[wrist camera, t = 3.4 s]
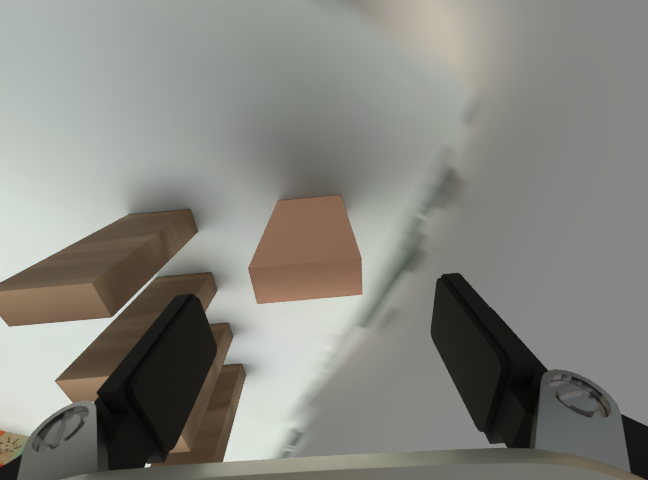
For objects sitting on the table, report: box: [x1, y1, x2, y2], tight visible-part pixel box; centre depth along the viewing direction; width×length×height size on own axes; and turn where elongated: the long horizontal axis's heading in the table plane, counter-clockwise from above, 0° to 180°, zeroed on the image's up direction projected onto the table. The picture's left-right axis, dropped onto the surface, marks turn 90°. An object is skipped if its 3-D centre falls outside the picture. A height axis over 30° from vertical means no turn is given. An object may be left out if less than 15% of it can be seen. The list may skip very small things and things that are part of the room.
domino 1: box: [0, 209, 198, 326], centre depth 16 cm, size 2×5×10 cm, turn 95°
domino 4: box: [150, 364, 246, 467], centre depth 24 cm, size 2×5×10 cm, turn 95°
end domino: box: [248, 195, 362, 304], centre depth 16 cm, size 2×5×10 cm, turn 95°
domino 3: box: [169, 323, 233, 453], centre depth 22 cm, size 2×5×10 cm, turn 95°
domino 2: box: [55, 272, 217, 403], centre depth 19 cm, size 2×5×10 cm, turn 95°
